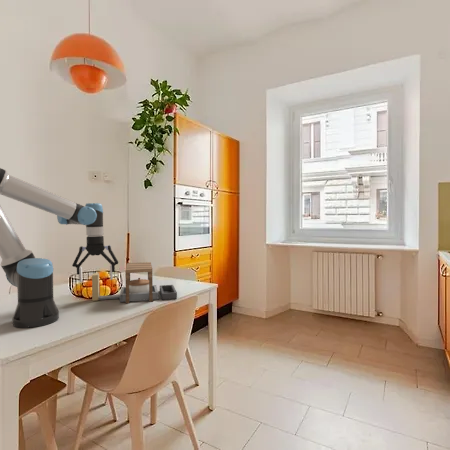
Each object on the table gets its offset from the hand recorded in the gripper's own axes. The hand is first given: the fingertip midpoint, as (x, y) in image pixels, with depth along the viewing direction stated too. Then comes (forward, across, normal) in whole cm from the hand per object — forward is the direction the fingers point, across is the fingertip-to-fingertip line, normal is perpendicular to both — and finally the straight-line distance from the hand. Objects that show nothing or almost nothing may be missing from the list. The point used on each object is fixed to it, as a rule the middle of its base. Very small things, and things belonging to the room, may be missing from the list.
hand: (96, 280), depth 149 cm
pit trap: (+10, -34, 0) cm, 35 cm away
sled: (+9, -13, 0) cm, 16 cm away
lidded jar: (+10, -20, 0) cm, 22 cm away
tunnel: (+10, -20, 0) cm, 22 cm away
